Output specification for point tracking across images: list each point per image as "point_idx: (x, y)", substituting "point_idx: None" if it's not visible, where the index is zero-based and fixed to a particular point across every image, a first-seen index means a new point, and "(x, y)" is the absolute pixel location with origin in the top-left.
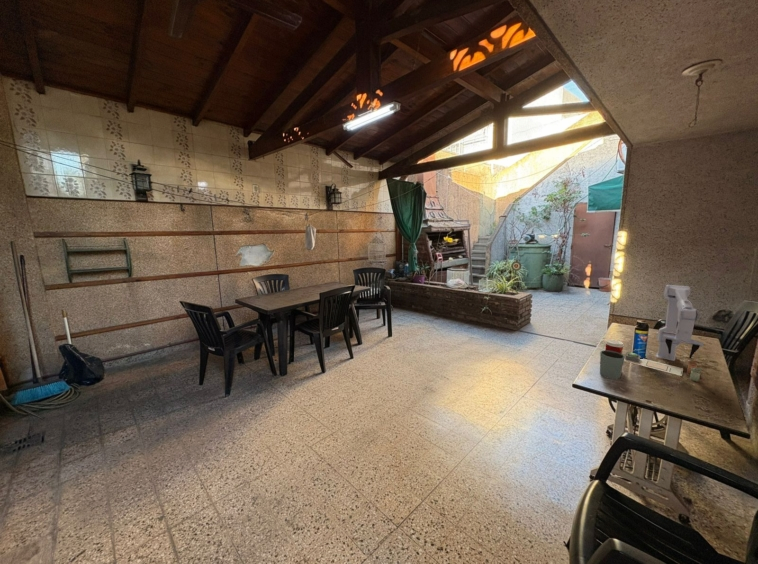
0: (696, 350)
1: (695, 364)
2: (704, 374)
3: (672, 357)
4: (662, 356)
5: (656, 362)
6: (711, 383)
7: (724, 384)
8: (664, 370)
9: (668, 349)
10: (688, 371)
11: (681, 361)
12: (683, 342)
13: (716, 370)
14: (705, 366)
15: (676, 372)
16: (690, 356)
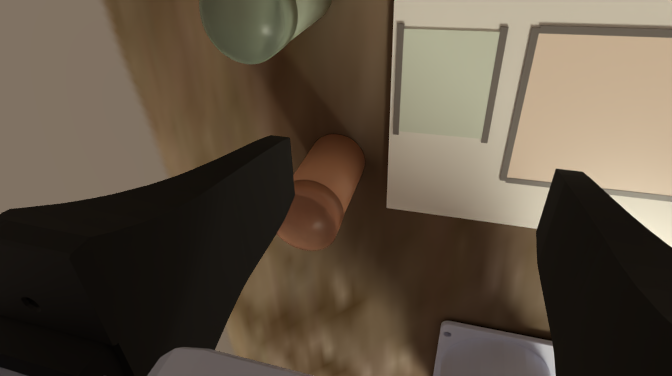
0: (84, 204)
1: None
2: None
3: (455, 359)
4: (524, 356)
5: None
6: (195, 17)
7: (144, 74)
8: (558, 17)
9: (629, 215)
10: (349, 149)
11: (400, 343)
12: (201, 354)
13: None
14: (286, 327)
15: (439, 47)
16: (259, 144)
